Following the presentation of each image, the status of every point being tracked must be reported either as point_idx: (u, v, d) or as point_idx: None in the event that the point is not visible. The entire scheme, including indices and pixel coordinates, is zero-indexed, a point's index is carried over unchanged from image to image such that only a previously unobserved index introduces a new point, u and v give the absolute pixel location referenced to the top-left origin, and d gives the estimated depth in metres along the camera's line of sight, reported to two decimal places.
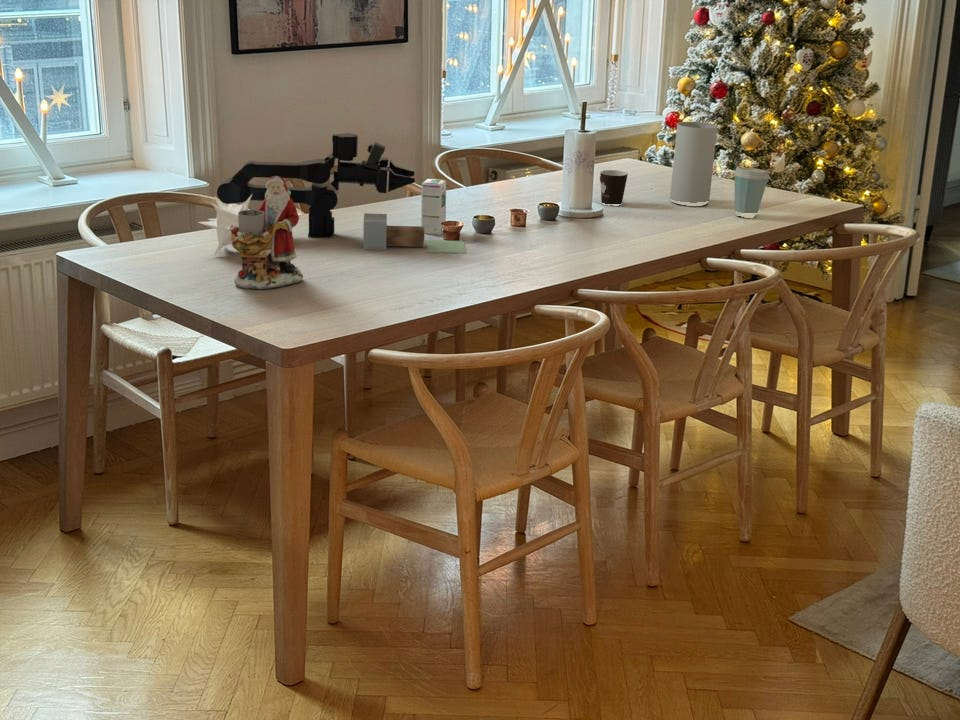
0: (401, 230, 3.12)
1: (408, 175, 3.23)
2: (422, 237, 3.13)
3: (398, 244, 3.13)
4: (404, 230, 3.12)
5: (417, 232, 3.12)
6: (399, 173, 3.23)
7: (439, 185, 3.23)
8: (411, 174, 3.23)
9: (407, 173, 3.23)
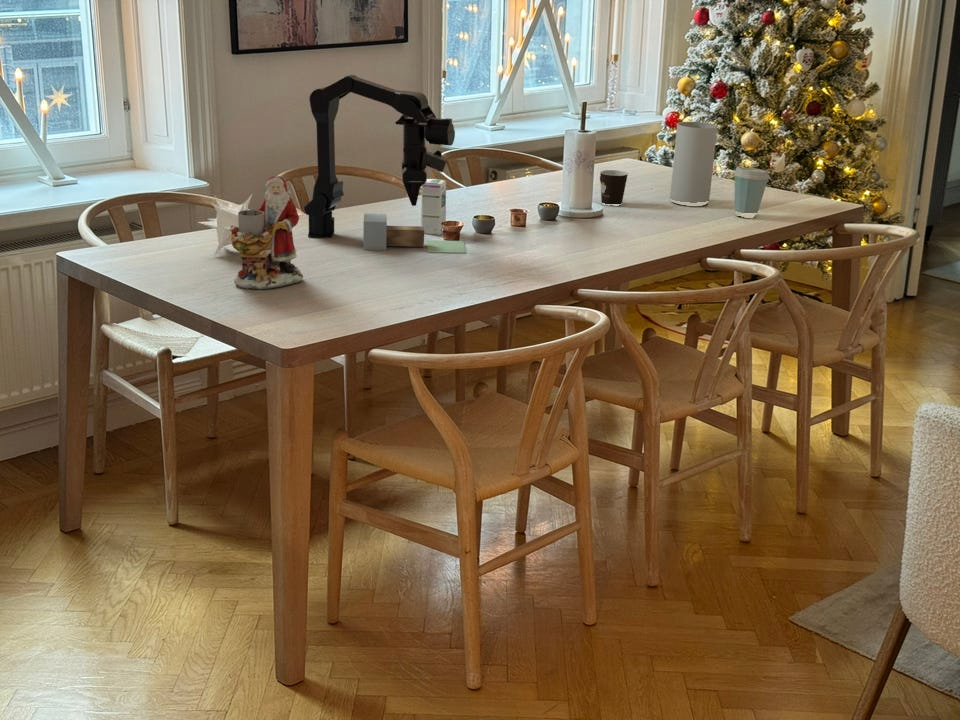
0: (401, 230, 3.12)
1: None
2: (422, 237, 3.13)
3: (398, 244, 3.13)
4: (404, 230, 3.12)
5: (417, 232, 3.12)
6: None
7: (439, 185, 3.23)
8: None
9: None
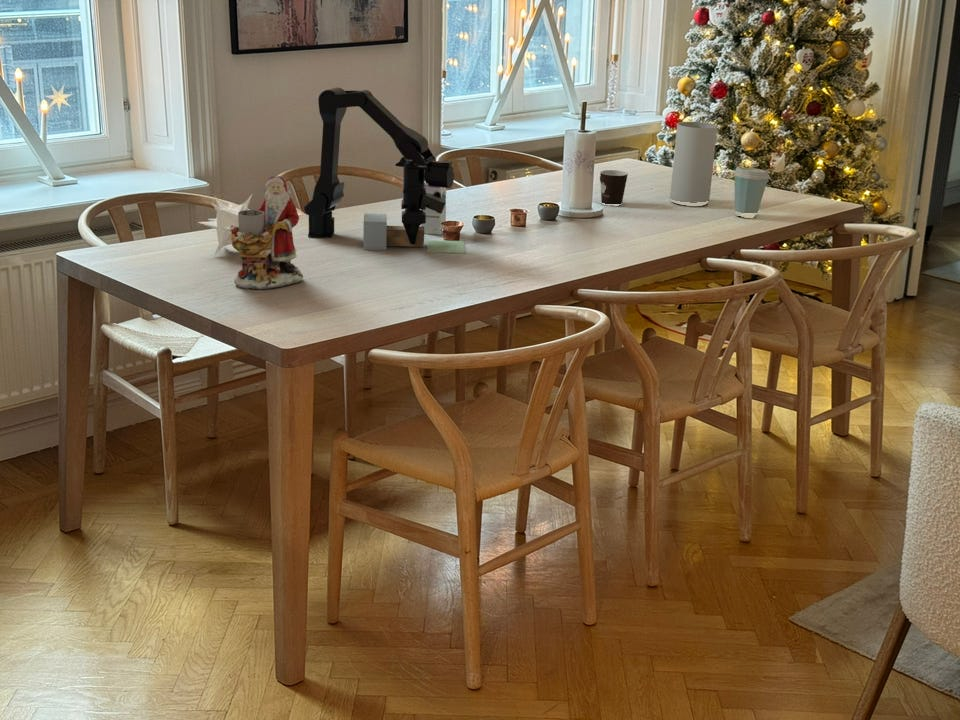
0: (401, 230, 3.12)
1: None
2: (422, 237, 3.13)
3: (398, 244, 3.13)
4: (404, 230, 3.12)
5: None
6: None
7: None
8: None
9: None
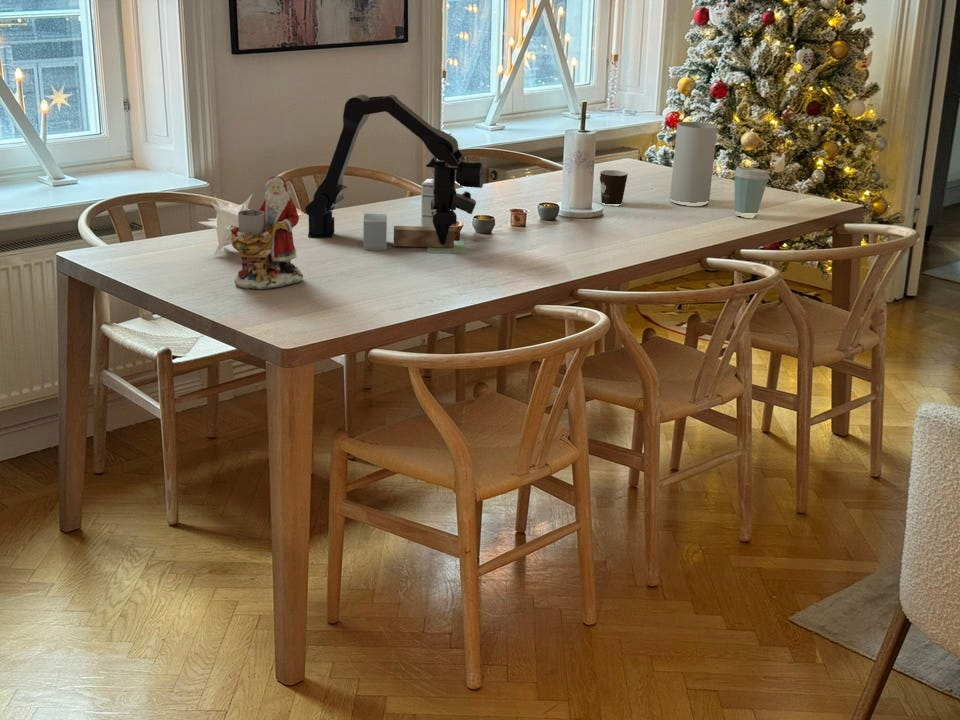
0: (431, 231, 3.12)
1: None
2: (452, 238, 3.13)
3: (428, 245, 3.13)
4: (434, 231, 3.12)
5: None
6: None
7: None
8: None
9: None
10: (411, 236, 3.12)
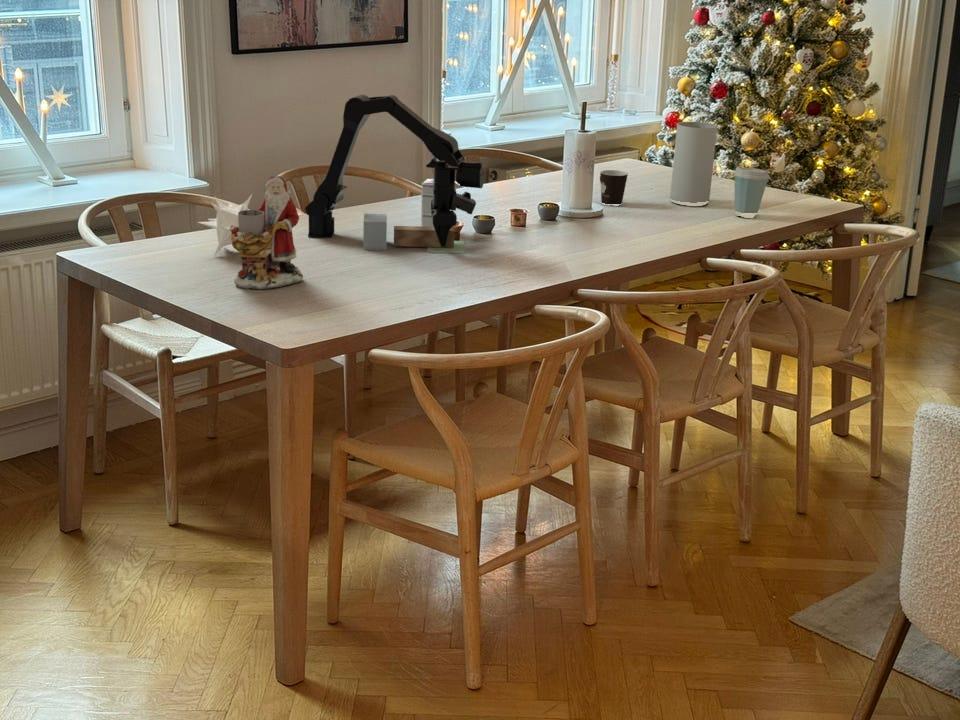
0: (431, 231, 3.12)
1: None
2: (452, 238, 3.13)
3: (428, 245, 3.13)
4: (434, 231, 3.12)
5: None
6: None
7: None
8: None
9: None
10: (411, 236, 3.12)
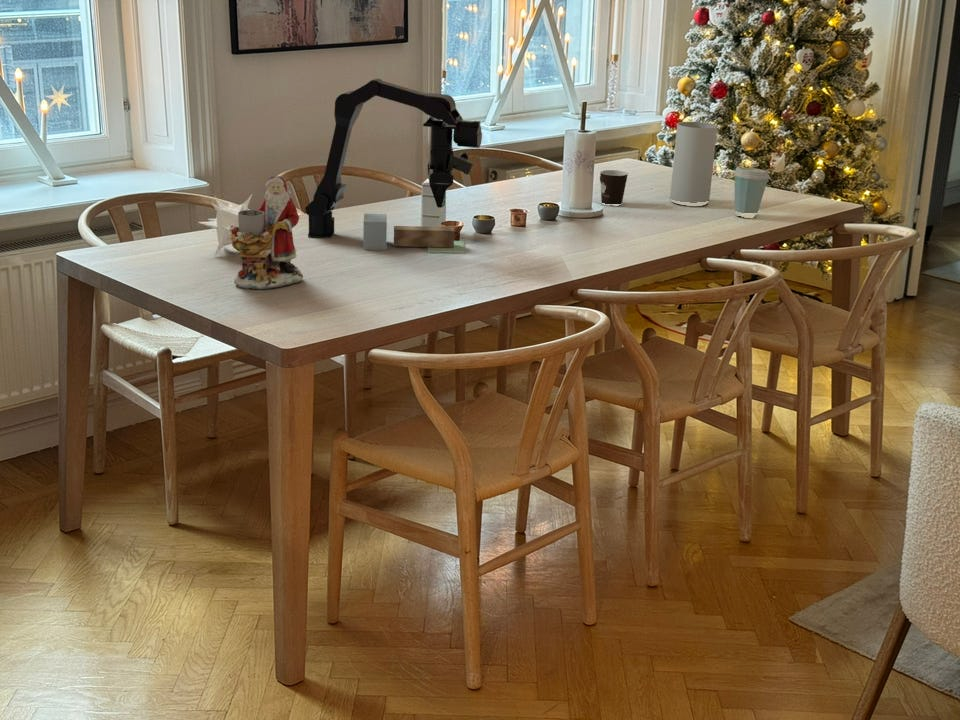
0: (431, 231, 3.12)
1: None
2: (452, 238, 3.13)
3: (428, 245, 3.13)
4: (434, 231, 3.12)
5: (447, 232, 3.13)
6: None
7: None
8: None
9: None
10: (411, 236, 3.12)
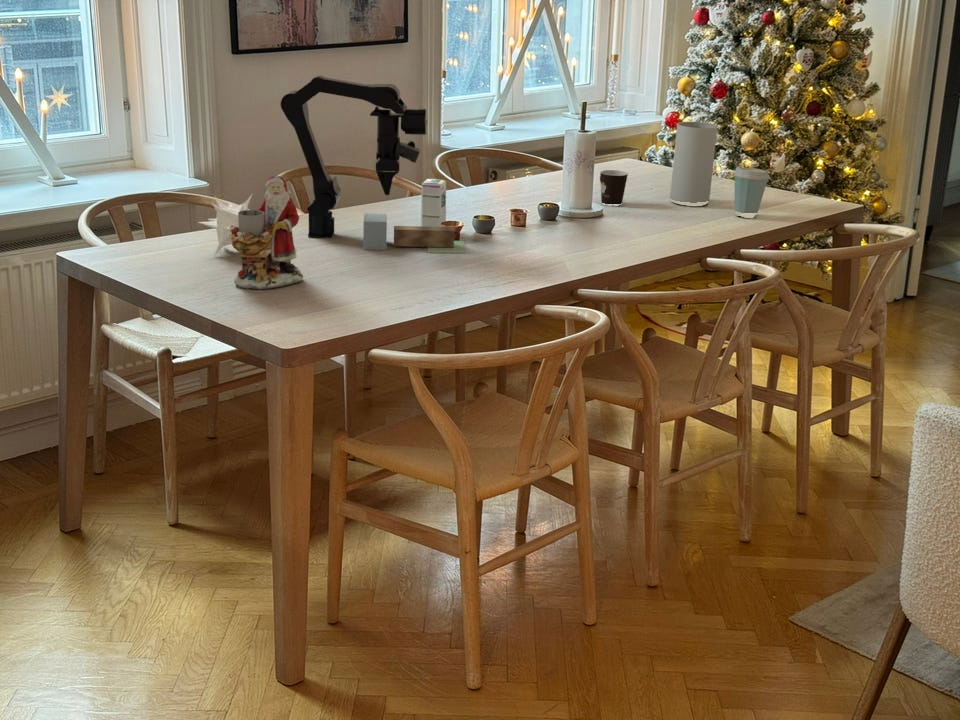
0: (431, 231, 3.12)
1: None
2: (452, 238, 3.13)
3: (428, 245, 3.13)
4: (434, 231, 3.12)
5: (447, 232, 3.13)
6: None
7: (439, 185, 3.23)
8: None
9: None
10: (411, 236, 3.12)
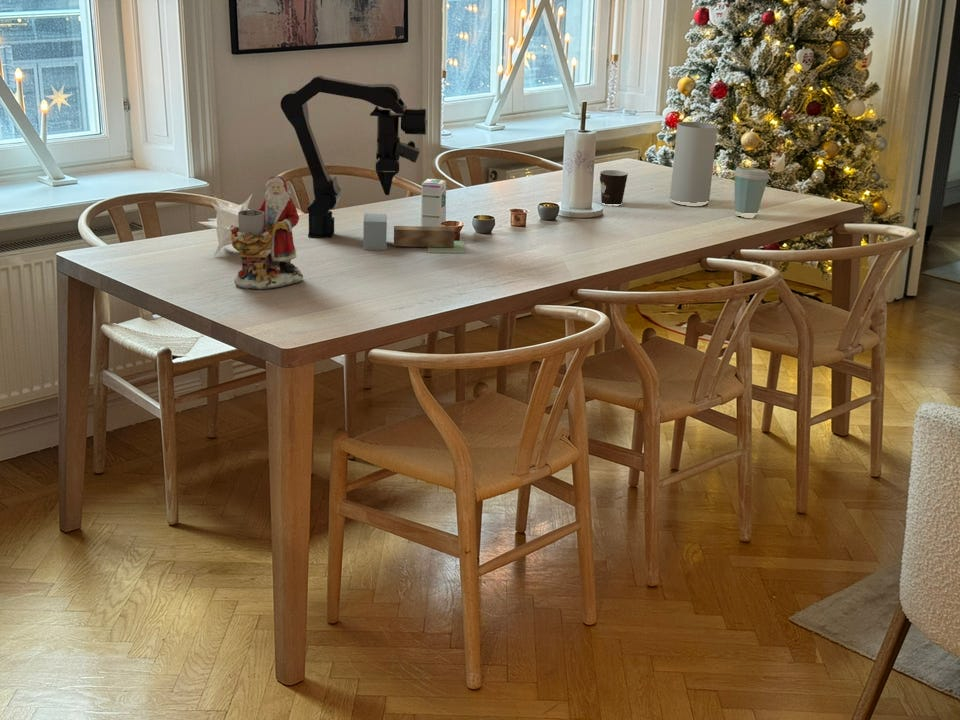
0: (431, 231, 3.12)
1: None
2: (452, 238, 3.13)
3: (428, 245, 3.13)
4: (434, 231, 3.12)
5: (447, 232, 3.13)
6: None
7: (439, 185, 3.23)
8: None
9: None
10: (411, 236, 3.12)
